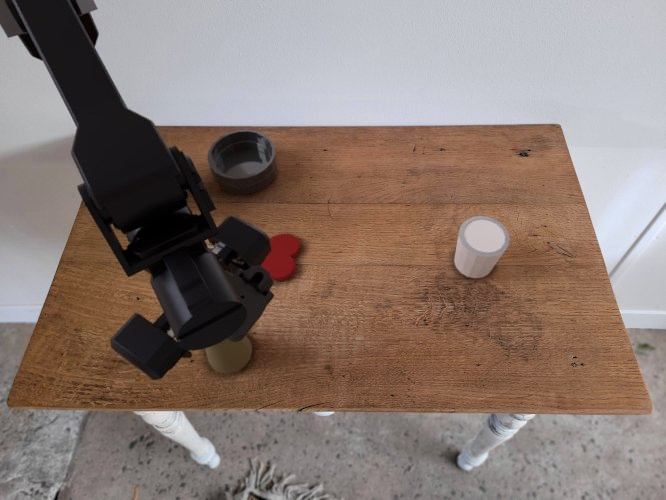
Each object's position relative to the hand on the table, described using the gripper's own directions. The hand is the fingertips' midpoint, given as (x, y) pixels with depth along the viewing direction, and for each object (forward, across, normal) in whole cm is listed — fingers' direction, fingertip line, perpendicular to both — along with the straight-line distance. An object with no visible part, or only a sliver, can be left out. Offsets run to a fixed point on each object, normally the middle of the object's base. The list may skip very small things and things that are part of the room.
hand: (214, 323), depth 58 cm
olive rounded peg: (+9, 0, 0) cm, 9 cm away
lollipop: (+9, +14, +7) cm, 18 cm away
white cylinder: (+9, +31, -22) cm, 39 cm away
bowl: (+9, +26, +19) cm, 34 cm away
